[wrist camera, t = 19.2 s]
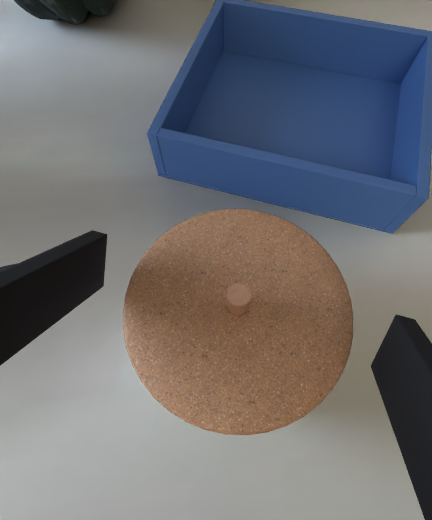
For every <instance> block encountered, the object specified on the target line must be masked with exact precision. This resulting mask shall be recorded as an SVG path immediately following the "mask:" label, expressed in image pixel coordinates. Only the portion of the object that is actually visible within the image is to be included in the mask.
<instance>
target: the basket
mask: <svg viewBox="0 0 432 520" xmlns="http://www.w3.org/2000/svg"><path fill="white" fill-rule="evenodd" d="M147 135H148V138H149V142H150V146H151V149H152V153H153V156H154V160H155V164H156V167H157V171H158V175H159V176H162V177H166V178H170V179H175V180H179V181H183V182H187V183H191V184H195V185H199V186H203V187H207V188H211V189H215V190H219V191H223V192H227V193H231V194H235V195H239V196H243V197H247V198H251V199H255V200H259V201H263V202H267V203H271V204H275V205H279V206H283V207H287V208H291V209H295V210H299V211H303V212H308V213H312V214H316V215H320V216H324V217H328V218H332V219H336V220H340V221H344V222H348V223H352V224H356V225H360V226H364V227H368V228H372V229H376V230H380V231H384V232H388V233H392V234H393V233H394V231H396V230H397V229H398V228H399V227H400V226H401V225H402V224H403V223H404V222H405V221H406V220H407V219H408V218H409V217H410V216H411V215H412V214H413V213H414V212H415V211H416V210H417V209H418V208H419V207H420V206H421V205H422V204H423V203H424V202H425V201H426V200H427V199H428V198H429V187H430V169H431V150H432V31H427V30H421V29H415V28H409V27H402V26H396V25H390V24H384V23H378V22H372V21H366V20H360V19H354V18H348V17H342V16H336V15H330V14H324V13H318V12H312V11H306V10H300V9H293V8H287V7H281V6H275V5H269V4H263V3H257V2H251V1H245V0H216V2H215V3H214V5H213V7H212V9H211V11H210V13H209V15H208V17H207V19H206V21H205V23H204V25H203V26H202V28H201V30H200V32H199V34H198V36H197V38H196V40H195V42H194V44H193V46H192V48H191V50H190V51H189V53H188V55H187V57H186V59H185V61H184V63H183V65H182V67H181V69H180V71H179V73H178V75H177V76H176V78H175V80H174V82H173V84H172V86H171V88H170V90H169V92H168V94H167V96H166V98H165V99H164V101H163V103H162V105H161V107H160V109H159V111H158V113H157V115H156V117H155V119H154V121H153V123H152V124H151V126H150V128H149V130H148V132H147Z"/></svg>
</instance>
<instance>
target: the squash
mask: <svg viewBox="0 0 432 520" xmlns="http://www.w3.org/2000/svg"><path fill="white" fill-rule="evenodd" d="M14 1H15V2H16V3H17V4H18V5H19V6H20V7H22V8H23V9H24V10H25V11H27V12H28V13H30V14H31V15H33V16H35V17H37V18H39V19H48V20H56V19H58V18H62V19H63V20H65V21H67V22H70V23H74V24H78V23H81V22H83V21H84V20H85V18H86V16H87V12H88V10H89V11H90V12H91V13H93V14H95V15H97V16H103V15H105V14H107V13H109V11H110V10H111V9H112V6H113V2H114V0H14Z"/></svg>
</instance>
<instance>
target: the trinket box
mask: <svg viewBox="0 0 432 520" xmlns="http://www.w3.org/2000/svg"><path fill="white" fill-rule="evenodd" d="M123 330H124V336H125V342H126V347H127V350H128V353H129V356H130V359H131V362H132V365H133V367H134V369H135V370H136V372H137V374H138V376H139V378H140V380H141V381H142V383H143V384H144V385H145V387H146V388H147V389H148V390H149V392H150V393H151V394H152V396H153V397H154V398H155V399H156V400H157V401H159V402H160V403H161V404H162V405H163V406H164V407H165V408H166V409H167V410H168V411H170V412H171V413H173V414H175V415H176V416H178V417H179V418H181V419H183V420H184V421H186V422H188V423H190V424H193V425H195V426H198V427H200V428H202V429H205V430H209V431H213V432H218V433H222V434H232V435H251V434H258V433H265V432H269V431H272V430H275V429H278V428H282V427H285V426H287V425H289V424H291V423H293V422H295V421H296V420H298V419H300V418H302V417H304V416H305V415H307V414H308V413H309V412H310V411H311V410H313V409H314V408H315V407H316V406H318V405H319V404H320V403H321V402H322V401H323V400H324V398H325V397H326V396H327V395H328V394H329V393H330V392H331V390H332V389H333V388H334V386H335V384H336V383H337V381H338V379H339V378H340V376H341V374H342V373H343V370H344V368H345V365H346V362H347V360H348V357H349V354H350V349H351V344H352V338H353V312H352V305H351V299H350V296H349V293H348V289H347V286H346V283H345V281H344V279H343V277H342V275H341V273H340V271H339V268H338V267H337V265H336V264H335V262H334V261H333V259H332V258H331V256H330V255H329V254H328V253H327V251H326V250H325V249H324V248H323V247H322V246H321V245H320V244H319V243H318V242H317V241H316V240H315V239H314V238H313V237H311V236H310V235H309V234H308V233H307V232H305V231H304V230H302V229H301V228H299V227H297V226H296V225H294V224H293V223H291V222H289V221H286V220H284V219H282V218H280V217H278V216H275V215H271V214H268V213H264V212H261V211H255V210H248V209H224V210H215V211H211V212H207V213H203V214H199V215H197V216H194V217H192V218H189V219H187V220H185V221H183V222H181V223H179V224H178V225H176V226H174V227H173V228H171V229H170V230H168V231H167V232H166V233H165V234H163V235H162V236H161V237H159V238H158V239H157V240H156V241H155V243H154V244H153V245H152V246H151V247H150V248H149V249H148V250H147V251H146V253H145V254H144V256H143V257H142V259H141V260H140V261H139V263H138V265H137V267H136V269H135V271H134V273H133V275H132V277H131V279H130V282H129V286H128V289H127V292H126V296H125V303H124V309H123Z"/></svg>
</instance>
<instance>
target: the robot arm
mask: <svg viewBox="0 0 432 520" xmlns="http://www.w3.org/2000/svg"><path fill="white" fill-rule="evenodd" d="M106 245H107V234H103V233H100V232H96V231H93V230H92V231H90V232H88V233H85V234H83V235H81V236H79V237H77V238H74V239H72V240H70V241H68V242H65V243H63V244H61V245H59V246H56V247H54V248H52V249H50V250H47V251H45V252H43V253H41V254H39V255H36V256H34V257H32V258H30V259H27V260H25V261H23V262H21V263H18V264H13V265H8V266H4V267H0V365H1V364H3V363H4V362H5V361H7V360H8V359H9V358H11V357H12V356H13V355H14V354H16V353H17V352H18V351H20V350H21V349H22V348H24V347H25V346H26V345H27V344H29V343H30V342H31V341H33V340H34V339H35V338H37V337H38V336H39V335H40V334H42V333H43V332H44V331H46V330H47V329H48V328H50V327H51V326H52V325H53V324H55V323H56V322H57V321H59V320H60V319H61V318H63V317H64V316H65V315H66V314H68V313H69V312H70V311H72V310H73V309H74V308H76V307H77V306H78V305H79V304H81V303H82V302H83V301H85V300H86V299H87V298H89V297H90V296H91V295H92V294H94V293H95V292H96V291H98V290H99V289H100V288H102V287H103V285H104V272H105V258H106ZM371 368H372V371H373V374H374V377H375V380H376V382H377V385H378V388H379V391H380V394H381V397H382V399H383V402H384V405H385V408H386V411H387V414H388V416H389V419H390V422H391V425H392V428H393V431H394V433H395V436H396V439H397V442H398V445H399V447H400V450H401V453H402V456H403V459H404V462H405V464H406V467H407V470H408V473H409V476H410V479H411V481H412V484H413V487H414V490H415V493H416V496H417V498H418V501H419V504H420V507H421V510H422V512H423V515H424V518H425V520H432V343H431V342H430V340H429V339H428V338H427V336H426V335H425V333H424V332H423V330H422V329H421V327H420V326H419V325H418V323H417V322H416V320H415V319H411V318H407V317H404V316H400V315H395V317H394V319H393V321H392V323H391V326H390V328H389V330H388V332H387V334H386V336H385V338H384V340H383V342H382V344H381V346H380V348H379V350H378V352H377V354H376V356H375V358H374V360H373V362H372V364H371Z"/></svg>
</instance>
